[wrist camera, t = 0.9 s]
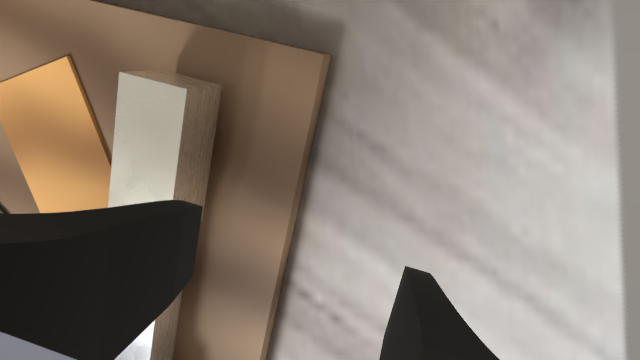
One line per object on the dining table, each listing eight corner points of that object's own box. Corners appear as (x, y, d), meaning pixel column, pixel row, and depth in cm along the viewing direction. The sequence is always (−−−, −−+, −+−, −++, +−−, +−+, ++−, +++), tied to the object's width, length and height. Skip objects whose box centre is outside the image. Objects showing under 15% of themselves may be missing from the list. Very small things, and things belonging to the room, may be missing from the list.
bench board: (251, 425, 25) (239, 450, 23) (-107, 294, 29) (-138, 308, 27) (331, 55, 19) (323, 54, 18) (-131, -52, 23) (-173, -61, 21)
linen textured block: (179, 431, 23) (139, 492, 20) (117, 408, 24) (68, 463, 21) (233, 87, 18) (191, 93, 15) (152, 67, 19) (95, 68, 15)
